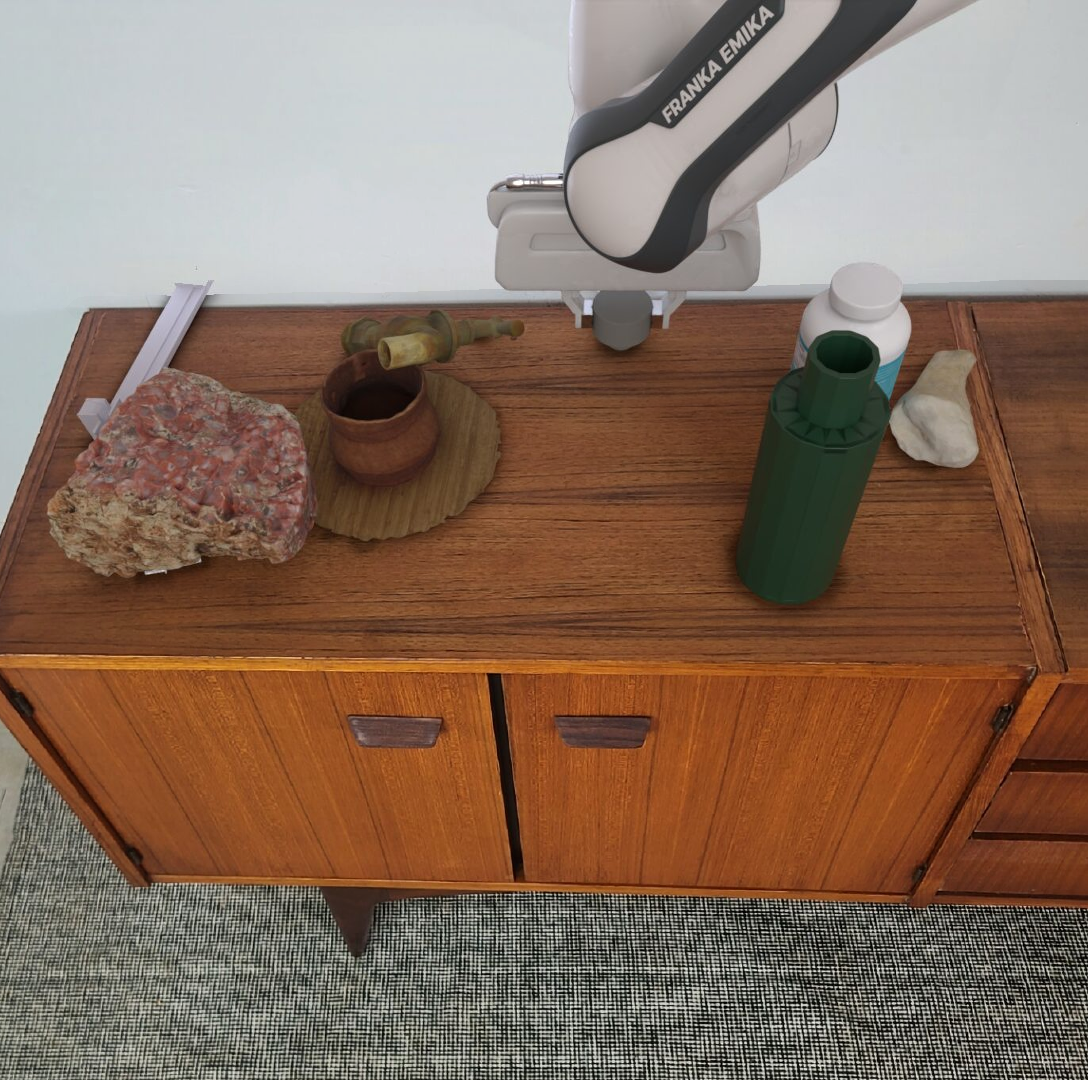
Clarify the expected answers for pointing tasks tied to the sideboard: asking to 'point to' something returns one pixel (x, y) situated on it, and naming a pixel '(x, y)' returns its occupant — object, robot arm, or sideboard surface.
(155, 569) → the card
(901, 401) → the beige lumpy piece
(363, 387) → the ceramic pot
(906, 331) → the pill bottle
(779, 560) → the bottle
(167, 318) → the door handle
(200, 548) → the rock
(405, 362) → the faucet
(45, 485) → the sideboard surface
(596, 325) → the cylinder
